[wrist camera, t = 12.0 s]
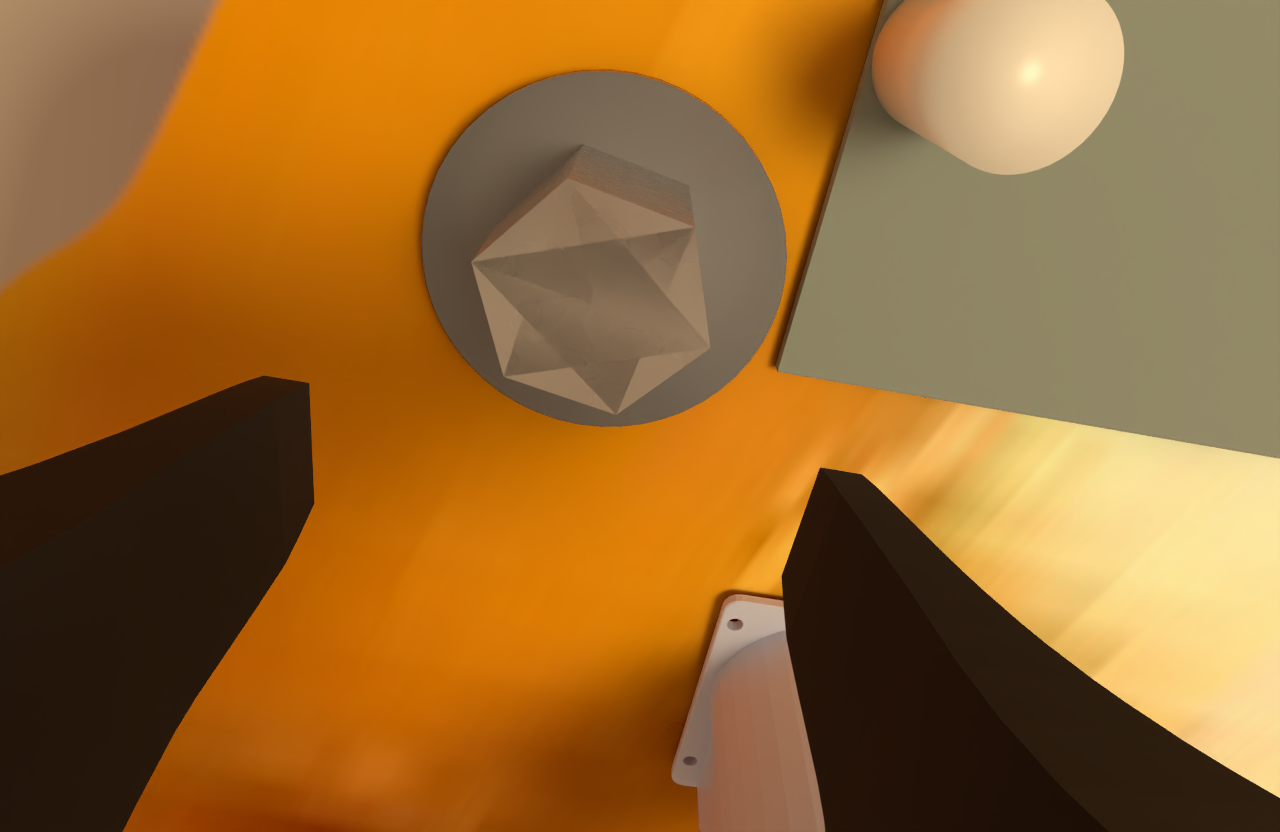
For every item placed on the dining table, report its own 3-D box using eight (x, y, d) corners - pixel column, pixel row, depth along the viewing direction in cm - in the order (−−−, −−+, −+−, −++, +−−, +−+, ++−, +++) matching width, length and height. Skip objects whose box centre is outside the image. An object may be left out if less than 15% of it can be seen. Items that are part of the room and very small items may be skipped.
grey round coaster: (735, 439, 22) (737, 450, 21) (422, 387, 21) (415, 397, 21) (828, 110, 18) (833, 114, 17) (436, 33, 17) (428, 35, 16)
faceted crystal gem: (739, 205, 18) (755, 250, 15) (669, 364, 20) (671, 433, 17) (529, 122, 17) (501, 152, 14) (478, 298, 19) (445, 357, 16)
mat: (1319, 459, 22) (1331, 467, 21) (775, 364, 21) (777, 371, 20) (1806, -195, 14) (1835, -199, 14) (1000, -393, 13) (1008, -403, 13)
